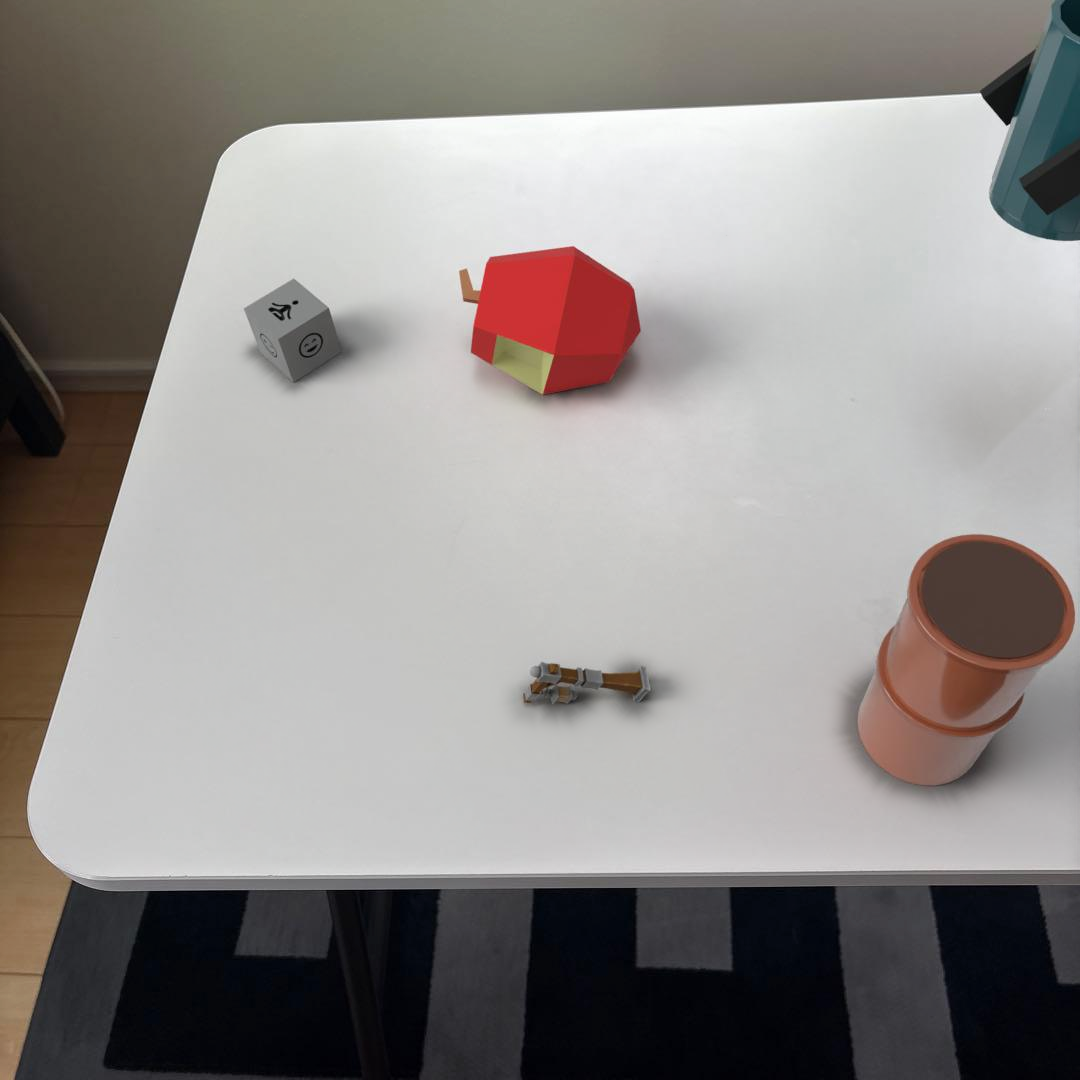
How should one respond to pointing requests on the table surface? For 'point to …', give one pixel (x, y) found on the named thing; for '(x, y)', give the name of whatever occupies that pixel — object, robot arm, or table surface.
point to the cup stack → (962, 655)
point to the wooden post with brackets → (583, 682)
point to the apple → (552, 318)
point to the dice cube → (293, 329)
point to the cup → (1043, 128)
